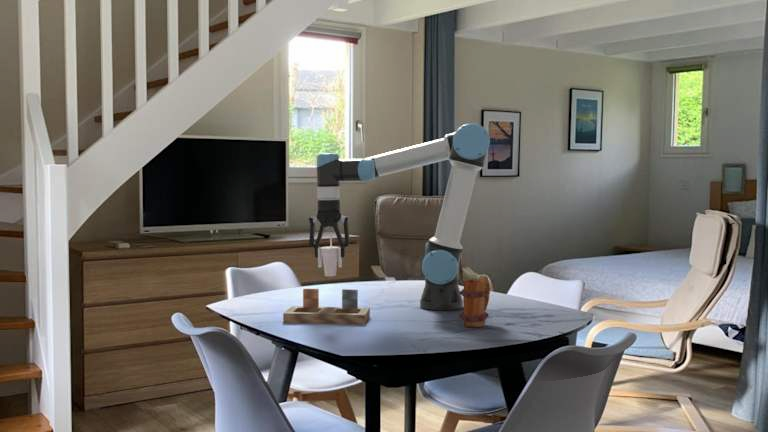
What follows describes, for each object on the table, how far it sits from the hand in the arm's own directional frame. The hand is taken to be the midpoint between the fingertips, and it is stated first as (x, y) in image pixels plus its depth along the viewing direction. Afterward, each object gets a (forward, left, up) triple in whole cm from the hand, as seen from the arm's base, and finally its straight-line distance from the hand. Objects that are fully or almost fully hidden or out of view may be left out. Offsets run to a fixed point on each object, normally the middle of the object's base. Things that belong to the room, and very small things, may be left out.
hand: (330, 266), depth 270 cm
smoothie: (0, 0, -3) cm, 3 cm away
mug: (-49, +17, -15) cm, 55 cm away
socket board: (-1, +14, -15) cm, 21 cm away
